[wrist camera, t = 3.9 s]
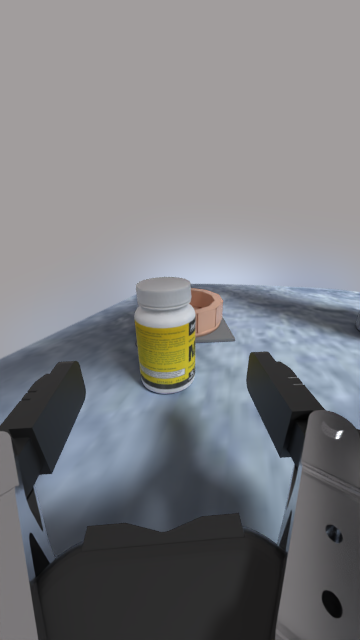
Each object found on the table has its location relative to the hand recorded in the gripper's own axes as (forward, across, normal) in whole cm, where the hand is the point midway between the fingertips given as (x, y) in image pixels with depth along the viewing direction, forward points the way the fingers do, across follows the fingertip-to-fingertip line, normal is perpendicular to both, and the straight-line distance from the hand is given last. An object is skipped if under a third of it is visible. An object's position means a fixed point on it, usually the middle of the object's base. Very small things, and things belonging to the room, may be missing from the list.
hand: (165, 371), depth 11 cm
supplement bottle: (+7, 0, +6) cm, 10 cm away
